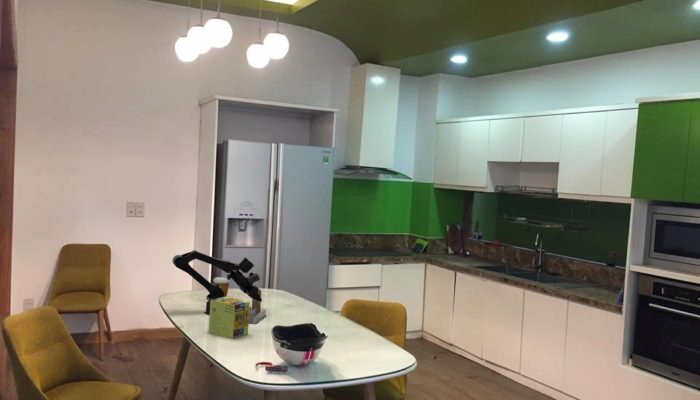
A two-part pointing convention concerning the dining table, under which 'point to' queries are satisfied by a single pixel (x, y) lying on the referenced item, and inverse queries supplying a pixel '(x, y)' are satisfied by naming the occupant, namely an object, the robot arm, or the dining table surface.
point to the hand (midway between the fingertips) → (259, 299)
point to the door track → (256, 316)
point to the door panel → (256, 303)
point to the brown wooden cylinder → (222, 284)
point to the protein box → (229, 317)
